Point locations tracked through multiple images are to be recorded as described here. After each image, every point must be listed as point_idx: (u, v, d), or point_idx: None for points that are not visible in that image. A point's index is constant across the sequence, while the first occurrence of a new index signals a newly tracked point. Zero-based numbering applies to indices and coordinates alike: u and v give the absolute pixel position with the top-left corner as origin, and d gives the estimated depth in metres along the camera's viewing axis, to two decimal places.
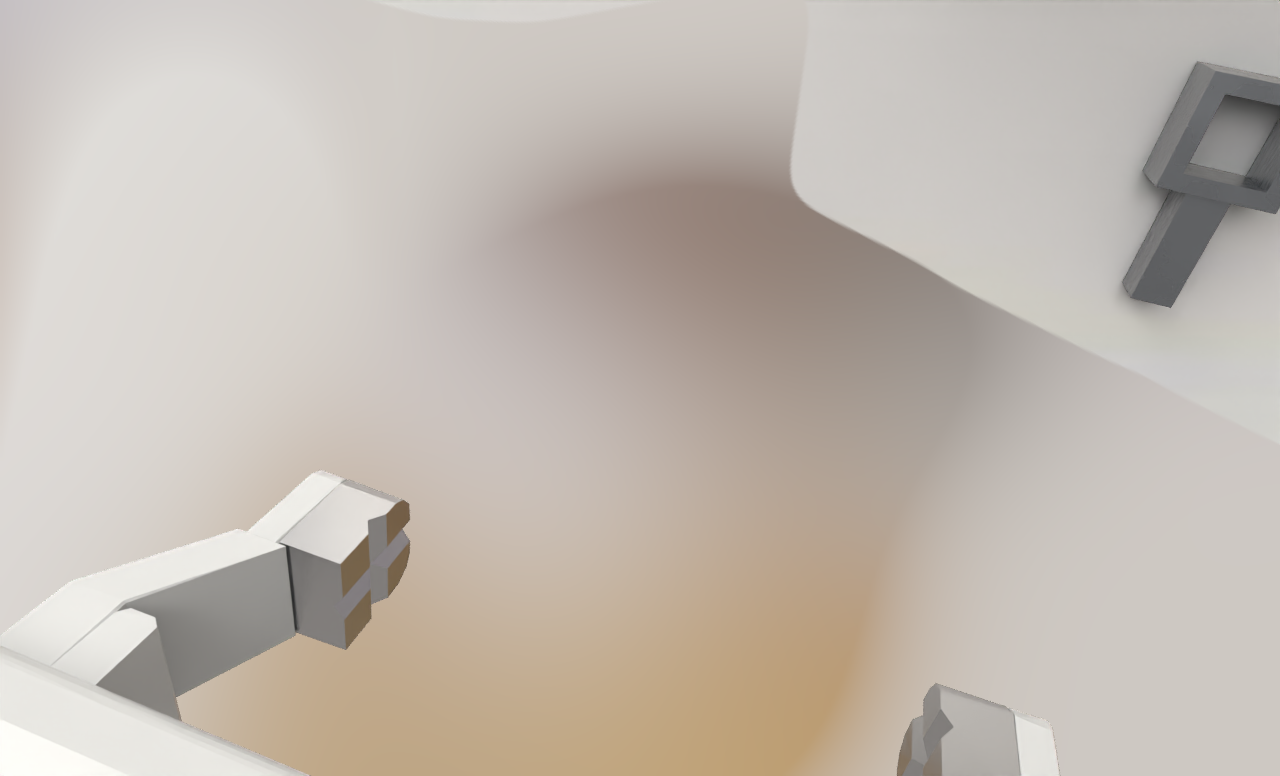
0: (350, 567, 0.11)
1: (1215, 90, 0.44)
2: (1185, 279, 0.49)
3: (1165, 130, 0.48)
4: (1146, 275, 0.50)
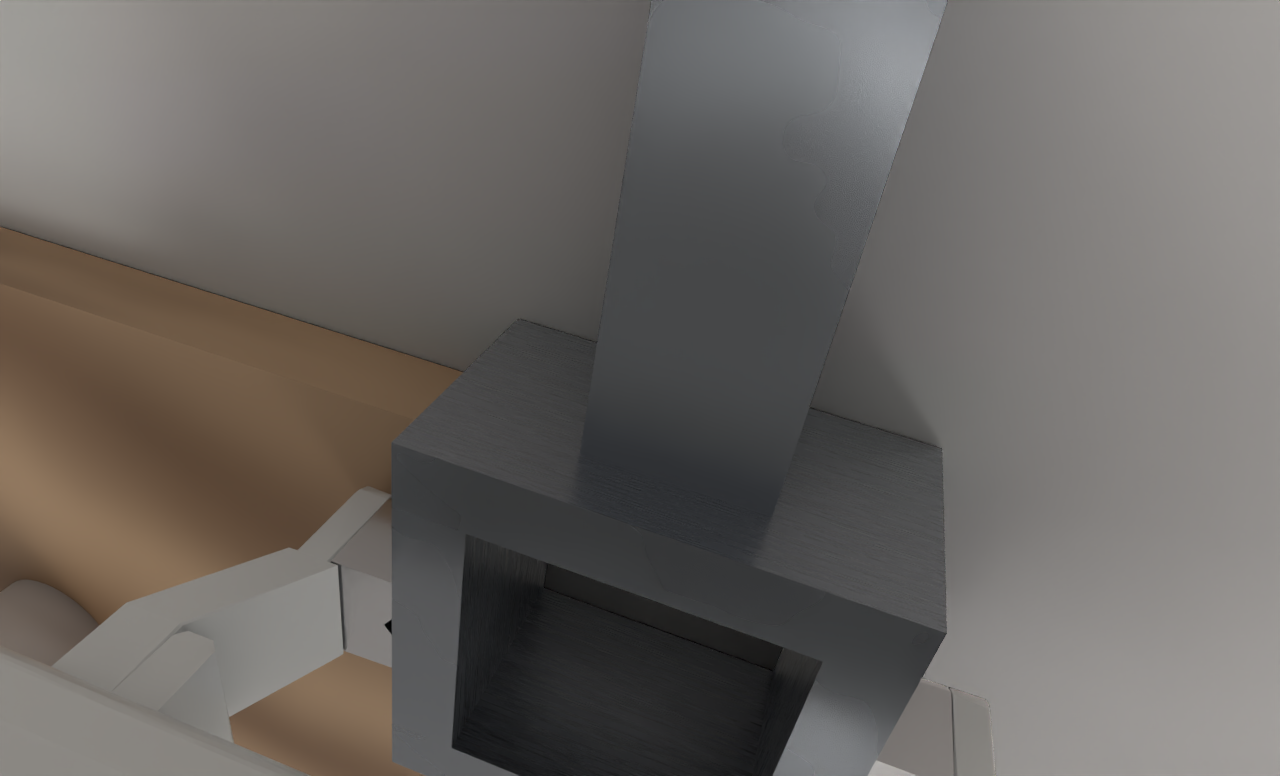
0: None
1: None
2: None
3: None
4: (915, 6, 0.06)
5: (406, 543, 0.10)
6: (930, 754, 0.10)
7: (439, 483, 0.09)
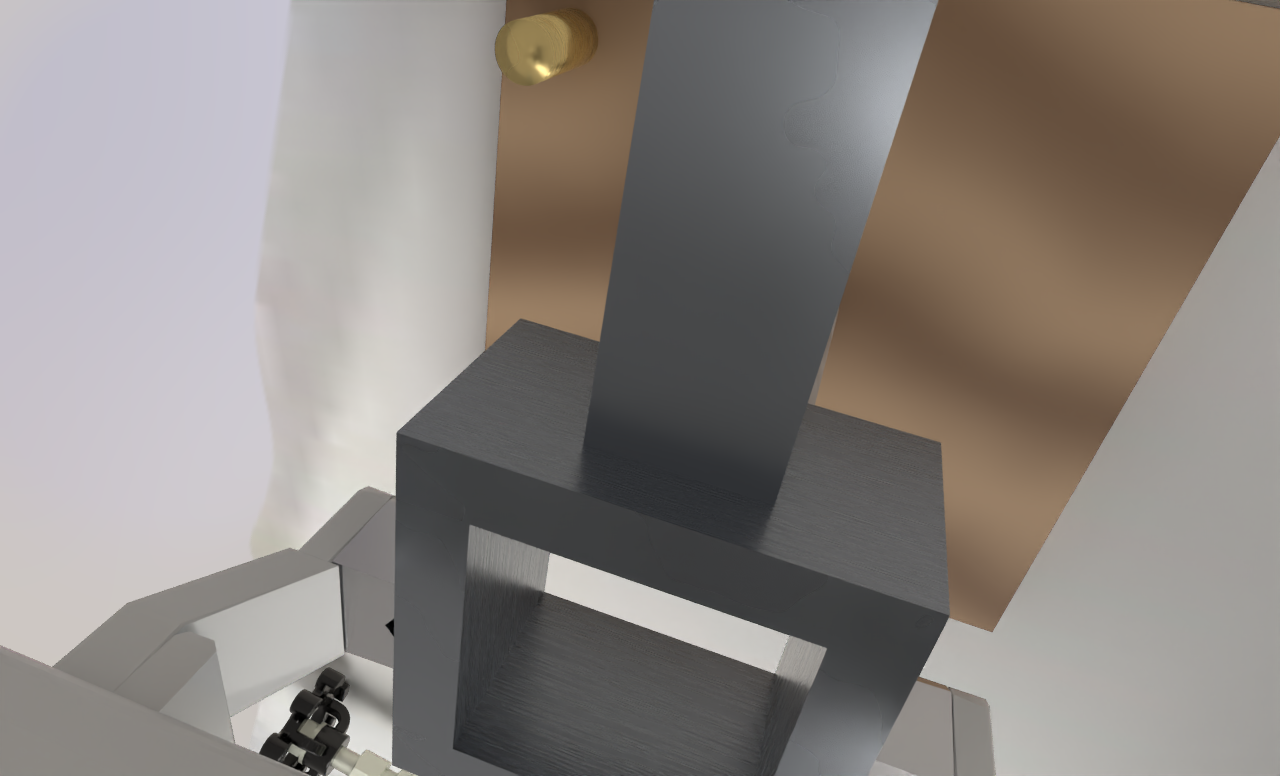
0: None
1: None
2: None
3: None
4: None
5: (410, 535, 0.10)
6: (930, 754, 0.10)
7: (444, 473, 0.09)
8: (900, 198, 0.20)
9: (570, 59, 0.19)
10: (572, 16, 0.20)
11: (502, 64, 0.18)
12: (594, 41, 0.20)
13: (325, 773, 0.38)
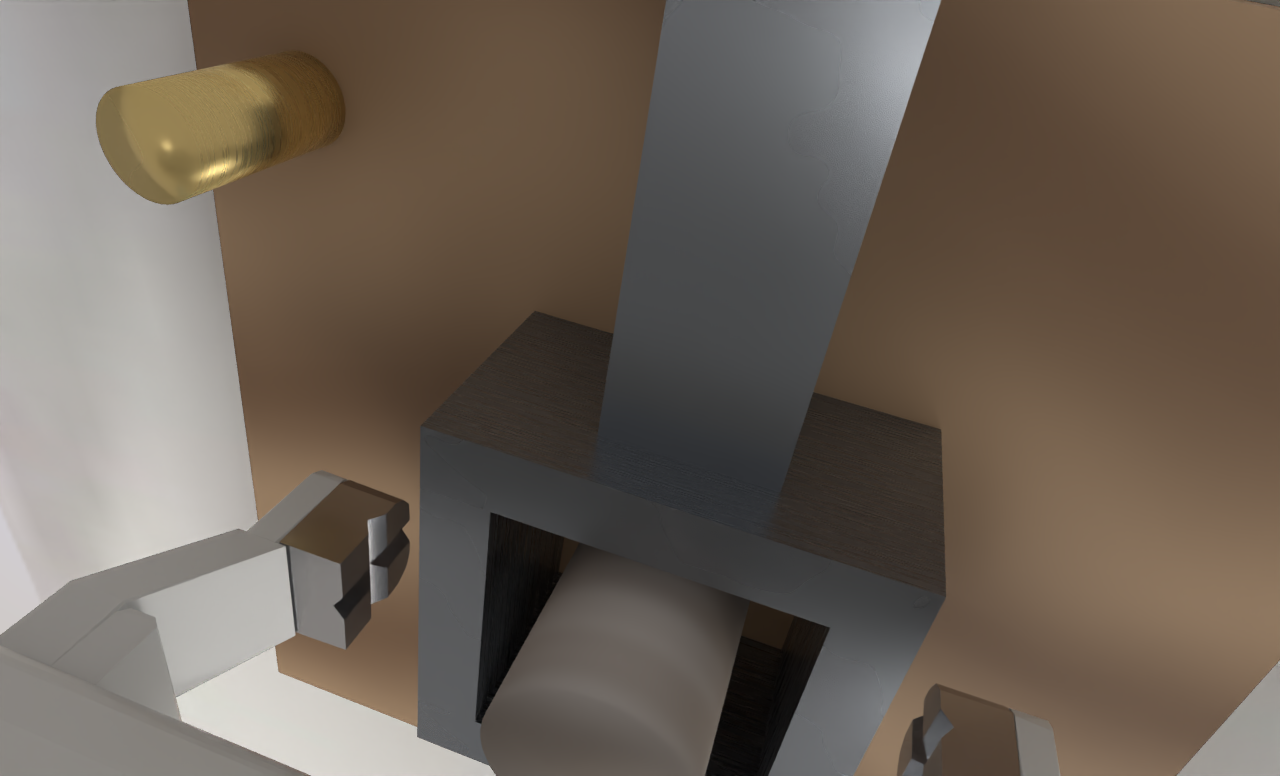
0: (350, 567, 0.11)
1: None
2: None
3: None
4: (910, 10, 0.07)
5: (434, 522, 0.11)
6: None
7: (465, 464, 0.10)
8: (861, 378, 0.12)
9: (265, 149, 0.11)
10: (276, 69, 0.11)
11: (116, 165, 0.10)
12: (334, 109, 0.12)
13: None
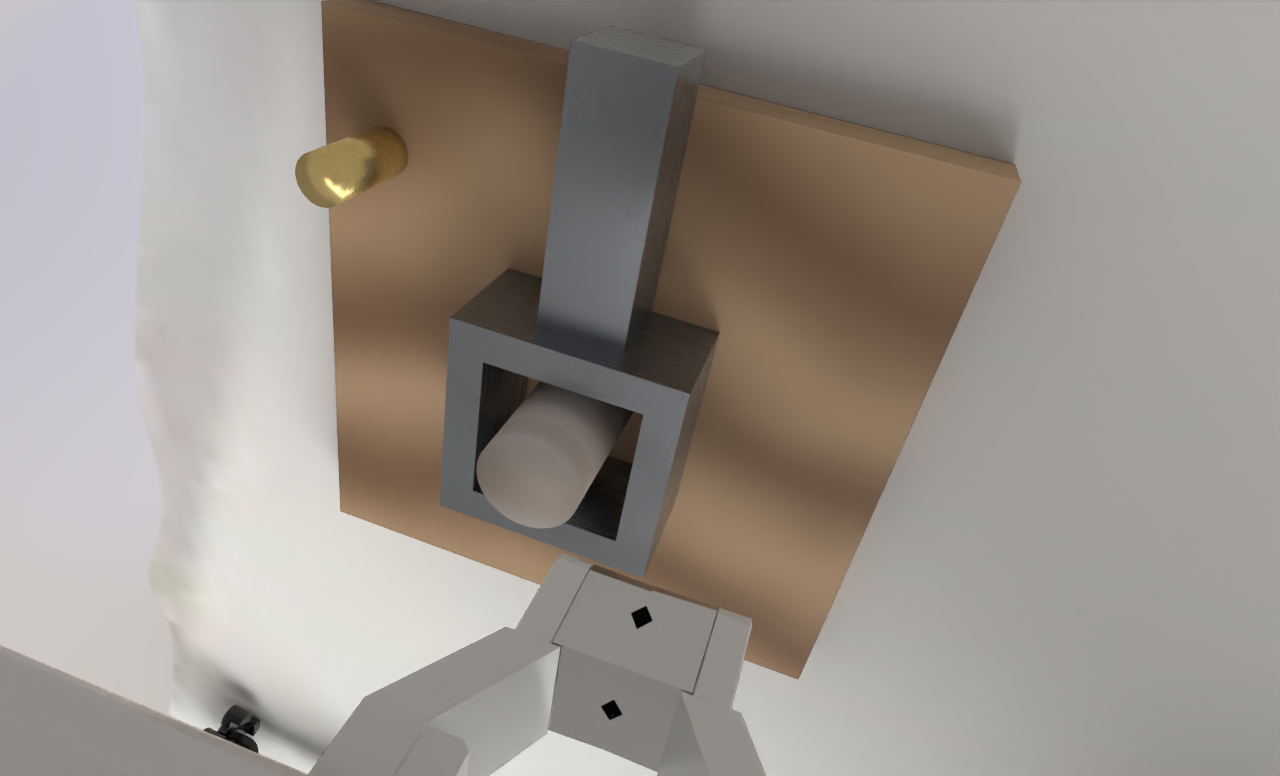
0: None
1: (633, 549, 0.23)
2: (562, 126, 0.18)
3: (696, 414, 0.23)
4: (654, 139, 0.18)
5: (454, 369, 0.21)
6: (678, 663, 0.10)
7: (471, 336, 0.21)
8: (678, 304, 0.22)
9: (371, 180, 0.21)
10: (376, 138, 0.22)
11: (303, 188, 0.20)
12: (403, 157, 0.22)
13: None
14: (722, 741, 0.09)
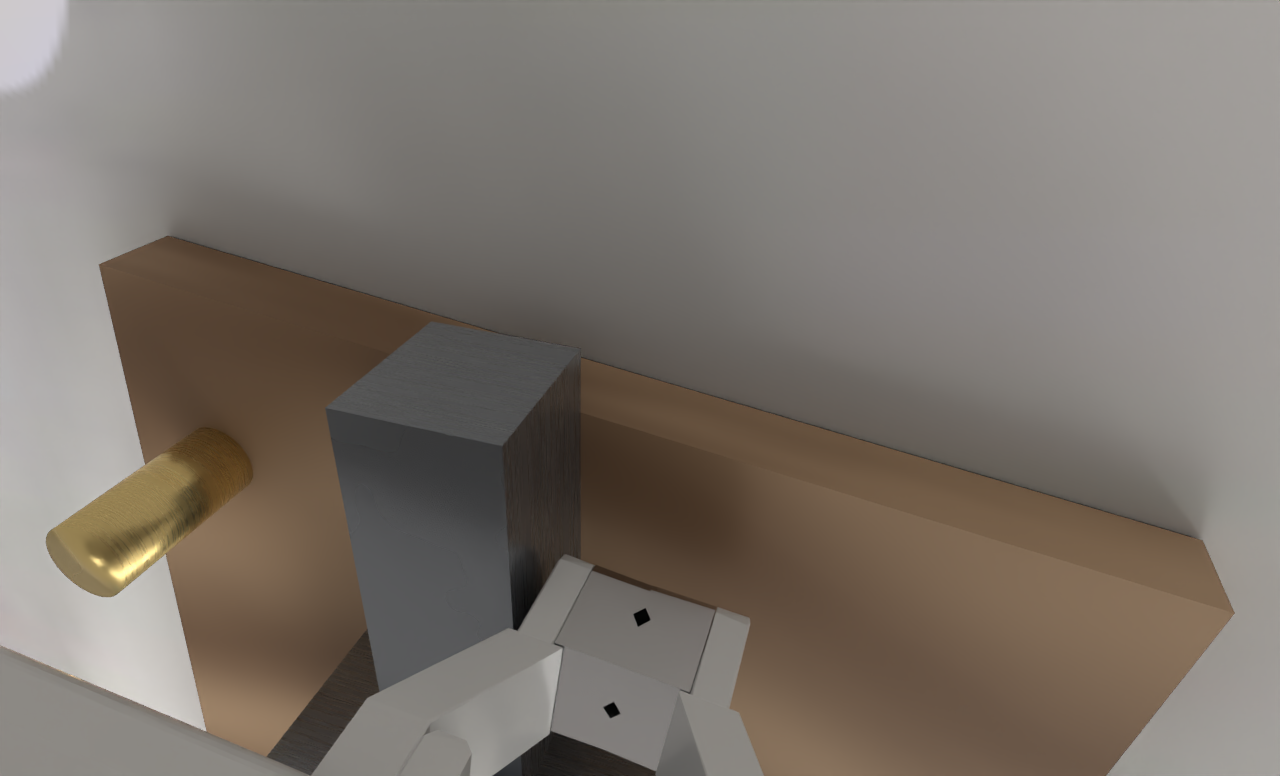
0: None
1: None
2: (353, 519, 0.11)
3: None
4: (492, 543, 0.10)
5: None
6: (676, 662, 0.10)
7: None
8: None
9: (180, 535, 0.14)
10: (191, 464, 0.14)
11: (62, 569, 0.13)
12: (241, 474, 0.15)
13: None
14: (719, 741, 0.09)
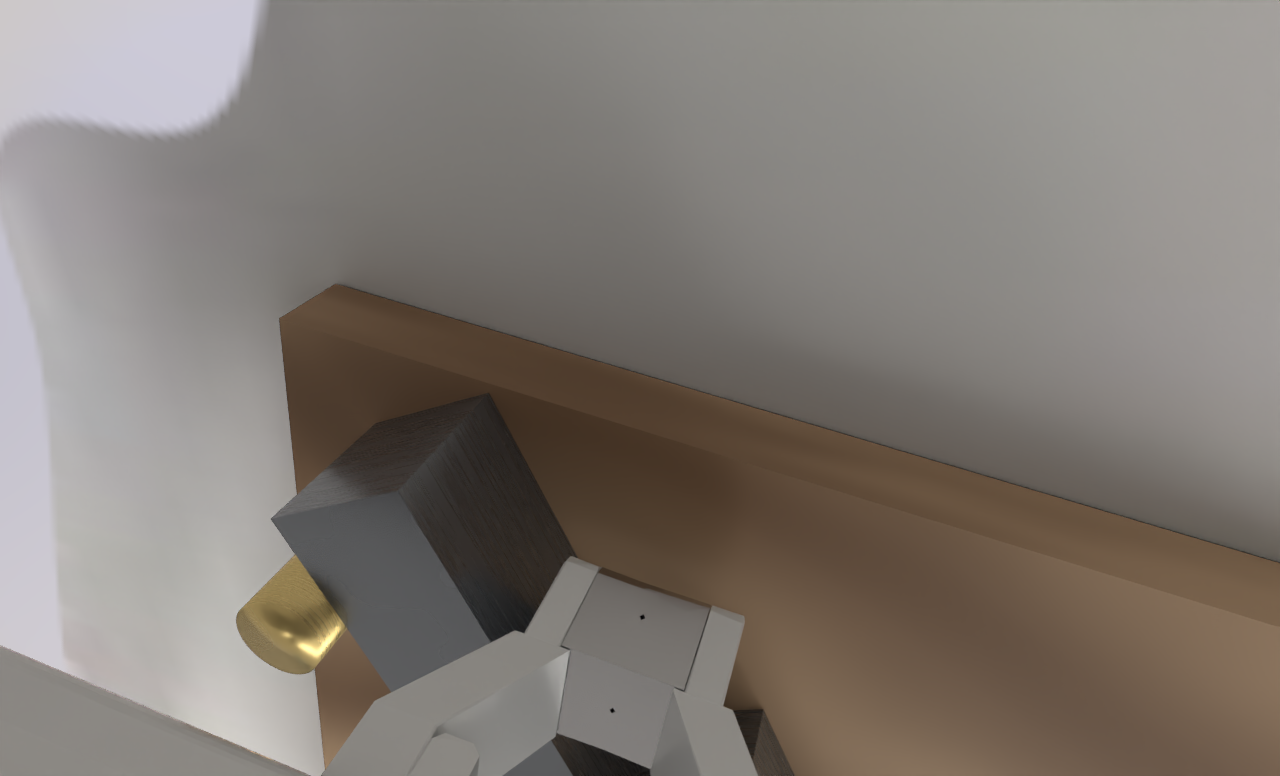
0: None
1: None
2: (344, 613, 0.12)
3: None
4: (442, 587, 0.11)
5: None
6: (670, 660, 0.10)
7: None
8: (854, 763, 0.14)
9: None
10: None
11: (250, 645, 0.12)
12: None
13: None
14: (713, 738, 0.09)
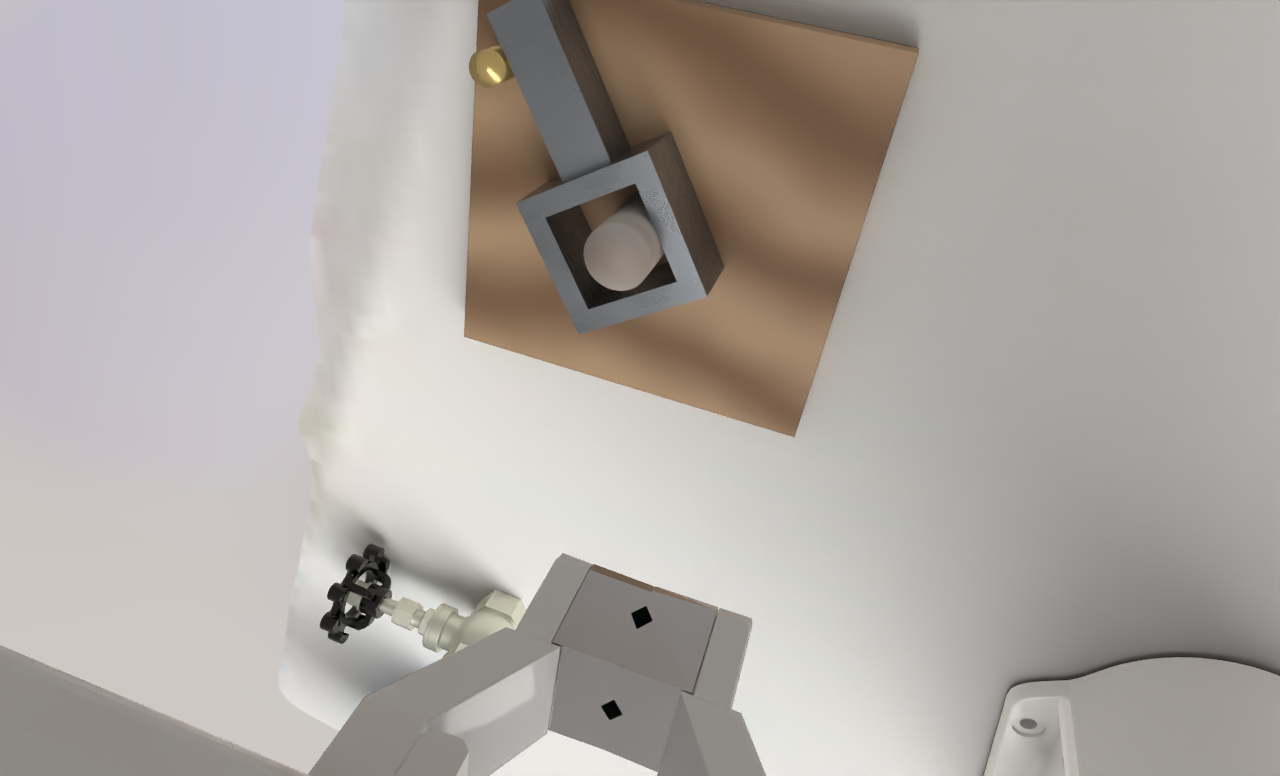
0: None
1: (689, 280, 0.34)
2: (509, 61, 0.32)
3: (691, 190, 0.35)
4: (549, 31, 0.31)
5: (535, 234, 0.35)
6: (678, 663, 0.10)
7: (531, 206, 0.34)
8: (709, 153, 0.34)
9: None
10: None
11: (473, 75, 0.33)
12: None
13: (376, 614, 0.53)
14: (722, 741, 0.09)
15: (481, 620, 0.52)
